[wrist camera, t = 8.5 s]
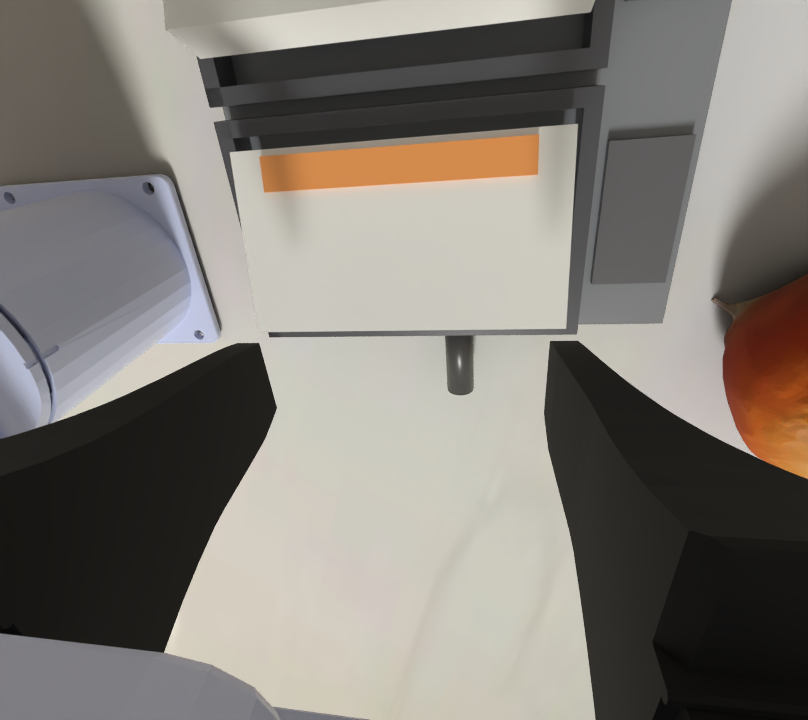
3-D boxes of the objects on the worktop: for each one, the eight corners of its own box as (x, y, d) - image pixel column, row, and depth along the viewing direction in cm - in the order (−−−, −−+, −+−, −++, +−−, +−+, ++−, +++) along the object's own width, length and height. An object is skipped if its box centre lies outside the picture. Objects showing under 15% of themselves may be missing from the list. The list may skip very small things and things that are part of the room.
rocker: (275, 322, 17) (255, 333, 15) (251, 156, 15) (227, 151, 14) (559, 317, 15) (567, 330, 14) (568, 131, 14) (579, 122, 12)
